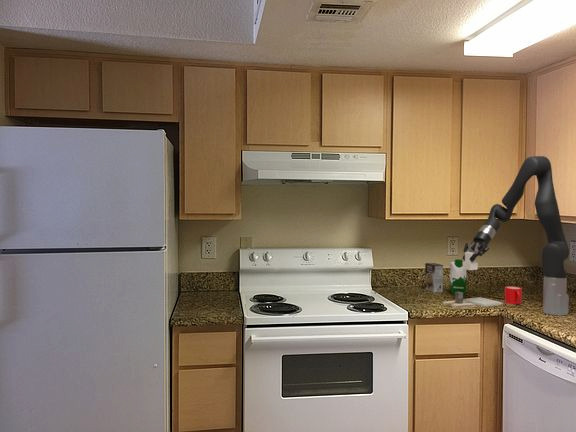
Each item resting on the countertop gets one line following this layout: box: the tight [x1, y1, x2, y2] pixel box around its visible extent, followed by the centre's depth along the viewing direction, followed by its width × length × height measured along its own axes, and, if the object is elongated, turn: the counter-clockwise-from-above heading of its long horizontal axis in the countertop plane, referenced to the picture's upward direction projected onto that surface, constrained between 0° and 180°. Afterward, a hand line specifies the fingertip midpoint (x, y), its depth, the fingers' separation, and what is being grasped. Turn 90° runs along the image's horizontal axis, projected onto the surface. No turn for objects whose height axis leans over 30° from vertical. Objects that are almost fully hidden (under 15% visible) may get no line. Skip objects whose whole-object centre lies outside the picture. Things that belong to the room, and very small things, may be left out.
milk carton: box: [449, 258, 467, 296], centre depth 247 cm, size 9×9×20 cm
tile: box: [463, 296, 503, 307], centre depth 225 cm, size 14×12×1 cm
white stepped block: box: [463, 251, 479, 271], centre depth 221 cm, size 5×5×8 cm
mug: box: [504, 285, 523, 305], centre depth 223 cm, size 8×12×8 cm, turn 177°
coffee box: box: [424, 262, 444, 293], centre depth 257 cm, size 9×6×16 cm
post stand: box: [442, 292, 477, 310], centre depth 219 cm, size 11×11×7 cm
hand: (467, 260), depth 220 cm, fingers closed on white stepped block, 4 cm apart
